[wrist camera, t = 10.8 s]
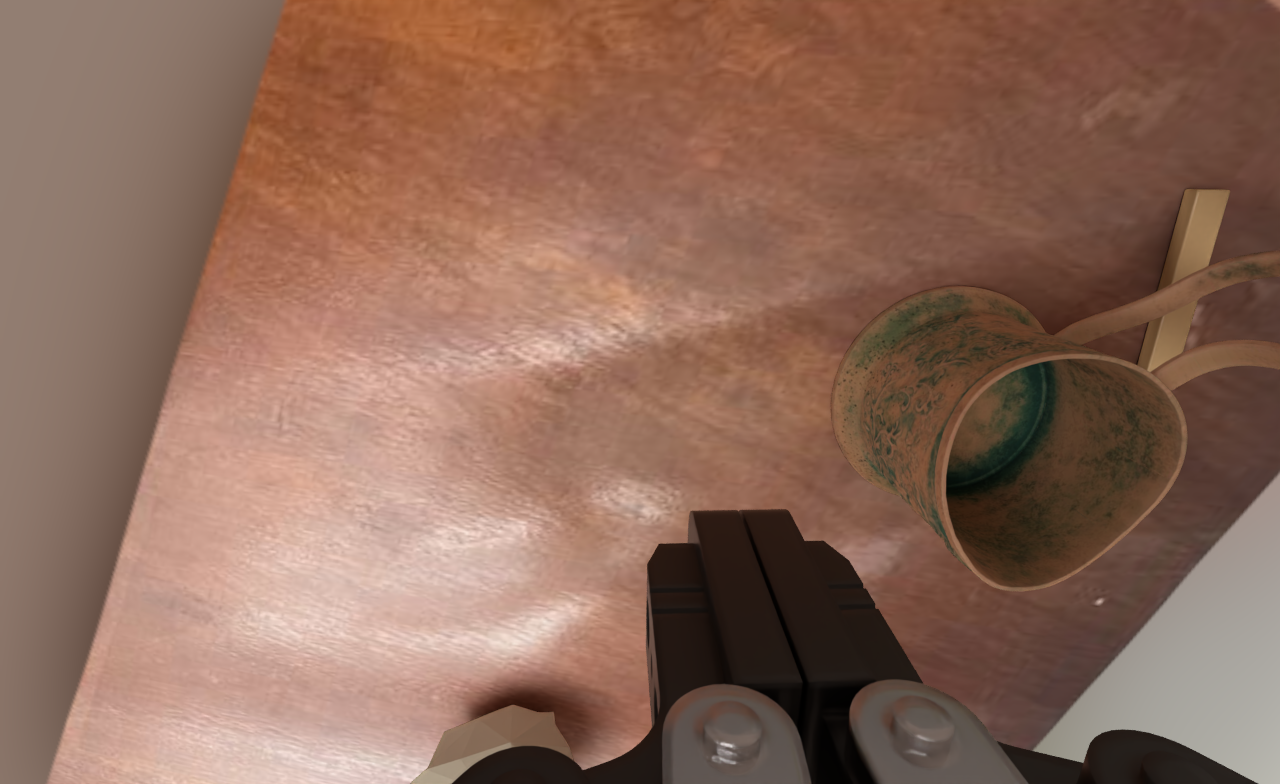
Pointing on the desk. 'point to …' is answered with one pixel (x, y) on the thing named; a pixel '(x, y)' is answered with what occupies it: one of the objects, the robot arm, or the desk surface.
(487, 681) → the desk surface
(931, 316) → the mug
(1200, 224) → the spoon
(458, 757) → the faceted club
